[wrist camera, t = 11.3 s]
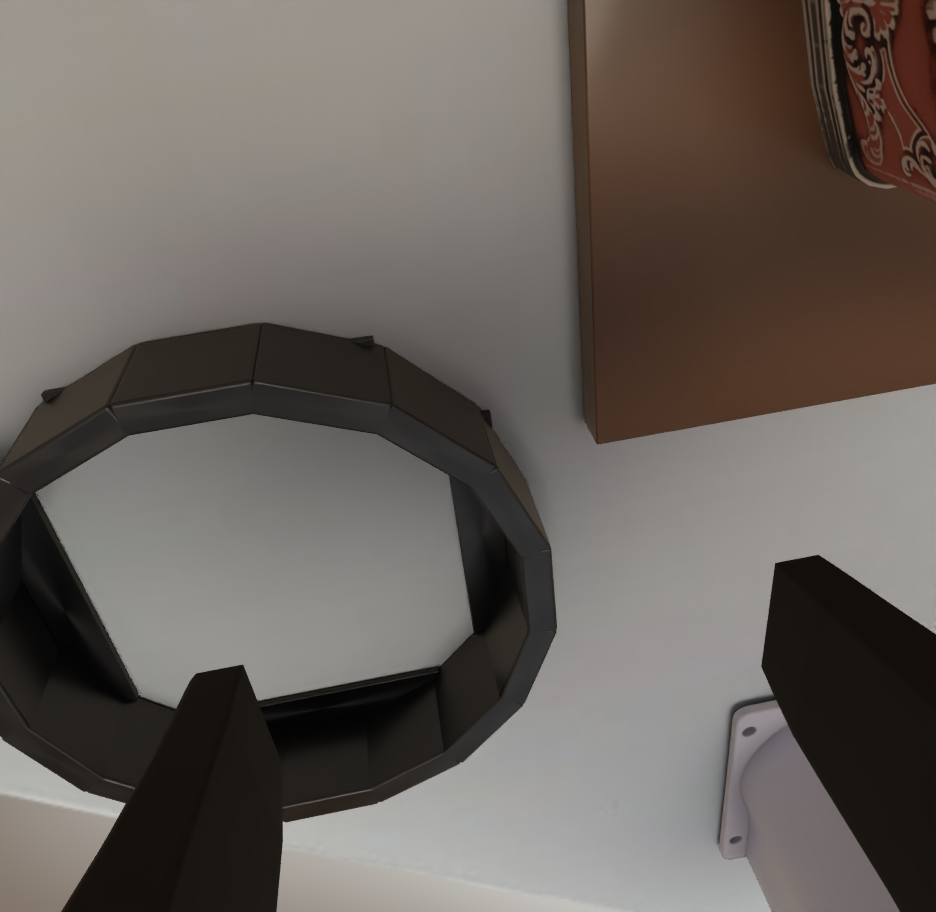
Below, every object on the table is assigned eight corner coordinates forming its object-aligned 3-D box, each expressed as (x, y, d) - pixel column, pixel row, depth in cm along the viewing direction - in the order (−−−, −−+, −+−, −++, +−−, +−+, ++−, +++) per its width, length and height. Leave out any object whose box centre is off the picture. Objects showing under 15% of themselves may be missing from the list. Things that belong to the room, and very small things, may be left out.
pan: (545, 689, 27) (568, 765, 24) (-111, 820, 26) (-158, 914, 23) (490, 90, 17) (519, 116, 14) (-614, 258, 15) (-797, 319, 13)
